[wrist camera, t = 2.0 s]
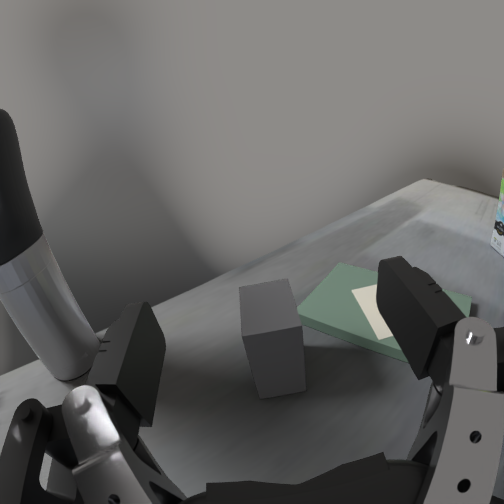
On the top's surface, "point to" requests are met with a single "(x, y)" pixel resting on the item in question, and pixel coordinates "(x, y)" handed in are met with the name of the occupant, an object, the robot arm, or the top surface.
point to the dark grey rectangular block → (273, 338)
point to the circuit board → (356, 310)
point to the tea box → (499, 223)
